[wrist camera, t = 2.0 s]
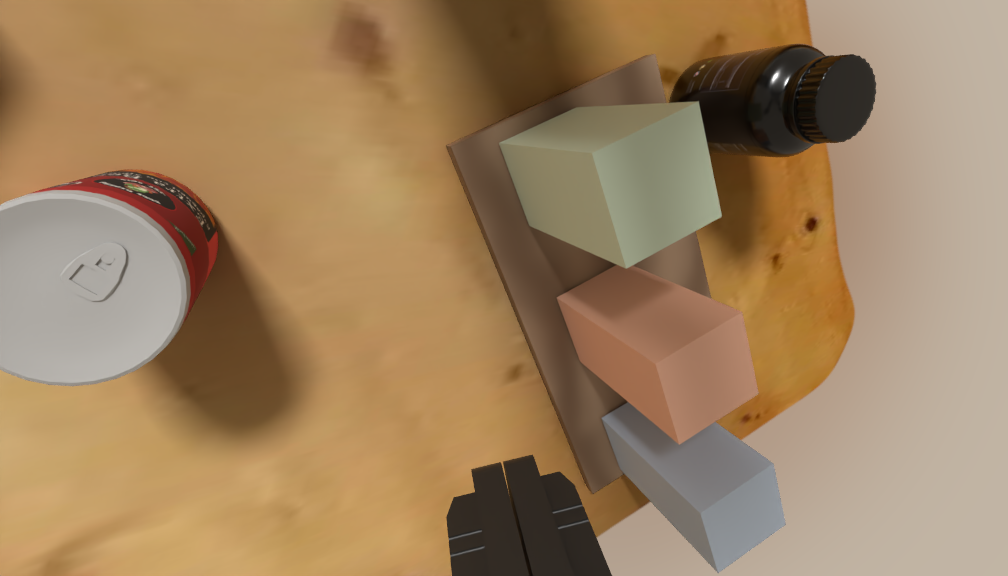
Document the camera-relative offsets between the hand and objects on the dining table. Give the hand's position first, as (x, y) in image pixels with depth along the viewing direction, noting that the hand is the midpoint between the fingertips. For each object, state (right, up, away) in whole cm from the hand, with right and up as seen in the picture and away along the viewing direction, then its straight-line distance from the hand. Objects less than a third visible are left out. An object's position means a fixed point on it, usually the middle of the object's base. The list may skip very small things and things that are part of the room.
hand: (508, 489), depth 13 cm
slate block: (+12, -7, +33) cm, 36 cm away
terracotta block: (+7, +3, +28) cm, 30 cm away
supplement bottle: (+15, +19, +28) cm, 37 cm away
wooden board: (+9, +4, +30) cm, 32 cm away
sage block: (+3, +13, +24) cm, 27 cm away
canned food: (-21, +8, +18) cm, 28 cm away
